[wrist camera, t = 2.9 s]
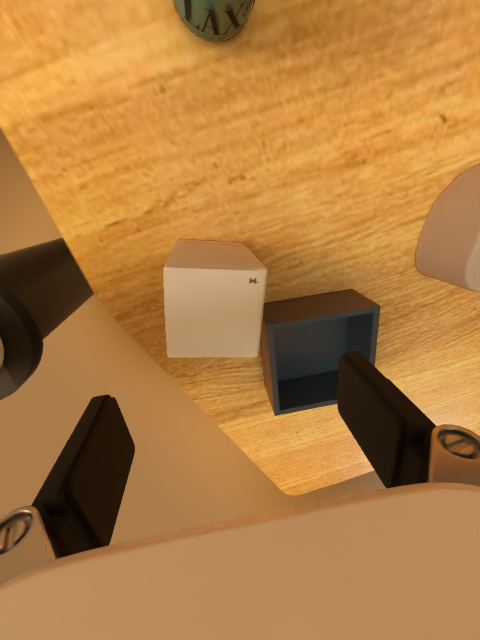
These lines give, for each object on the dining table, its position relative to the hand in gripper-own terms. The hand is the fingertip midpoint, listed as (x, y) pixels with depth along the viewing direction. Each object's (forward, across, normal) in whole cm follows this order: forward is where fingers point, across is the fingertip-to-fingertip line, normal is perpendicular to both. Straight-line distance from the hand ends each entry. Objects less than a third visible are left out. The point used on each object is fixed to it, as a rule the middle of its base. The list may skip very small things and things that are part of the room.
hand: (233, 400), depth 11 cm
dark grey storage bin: (+22, -10, +11) cm, 27 cm away
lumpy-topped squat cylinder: (+22, -30, -1) cm, 38 cm away
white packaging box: (+22, +1, 0) cm, 22 cm away
